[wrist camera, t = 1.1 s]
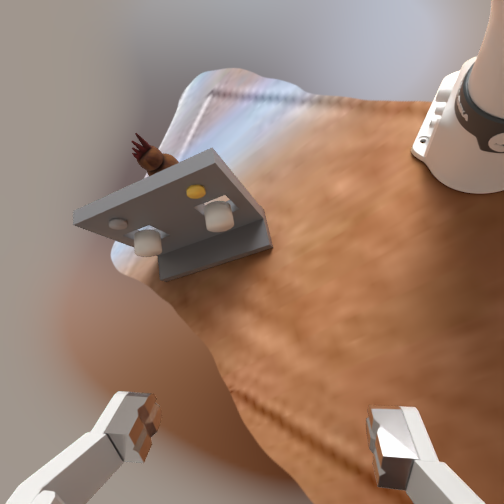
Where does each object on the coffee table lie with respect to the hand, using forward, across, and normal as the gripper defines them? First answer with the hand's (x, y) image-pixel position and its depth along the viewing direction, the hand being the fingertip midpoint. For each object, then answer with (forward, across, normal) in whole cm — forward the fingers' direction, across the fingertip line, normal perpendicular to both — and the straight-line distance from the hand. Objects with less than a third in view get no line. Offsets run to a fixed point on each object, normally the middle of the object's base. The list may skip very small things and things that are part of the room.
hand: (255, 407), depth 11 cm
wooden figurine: (+55, +26, +2) cm, 61 cm away
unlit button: (+35, +24, +10) cm, 44 cm away
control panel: (+42, +16, +14) cm, 47 cm away
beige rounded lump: (+36, +10, +6) cm, 38 cm away
